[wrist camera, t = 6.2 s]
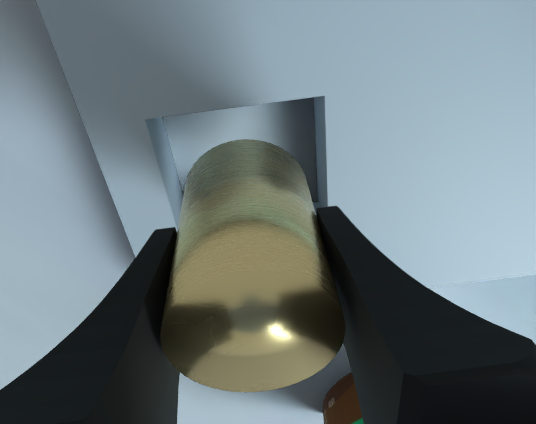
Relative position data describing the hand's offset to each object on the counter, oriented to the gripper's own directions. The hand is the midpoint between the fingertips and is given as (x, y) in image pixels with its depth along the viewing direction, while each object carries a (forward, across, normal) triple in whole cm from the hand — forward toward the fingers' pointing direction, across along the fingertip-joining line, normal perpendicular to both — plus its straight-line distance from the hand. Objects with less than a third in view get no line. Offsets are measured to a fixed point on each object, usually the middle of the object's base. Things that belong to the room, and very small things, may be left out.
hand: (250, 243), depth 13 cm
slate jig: (+6, -6, 0) cm, 8 cm away
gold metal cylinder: (+2, 0, 0) cm, 2 cm away
